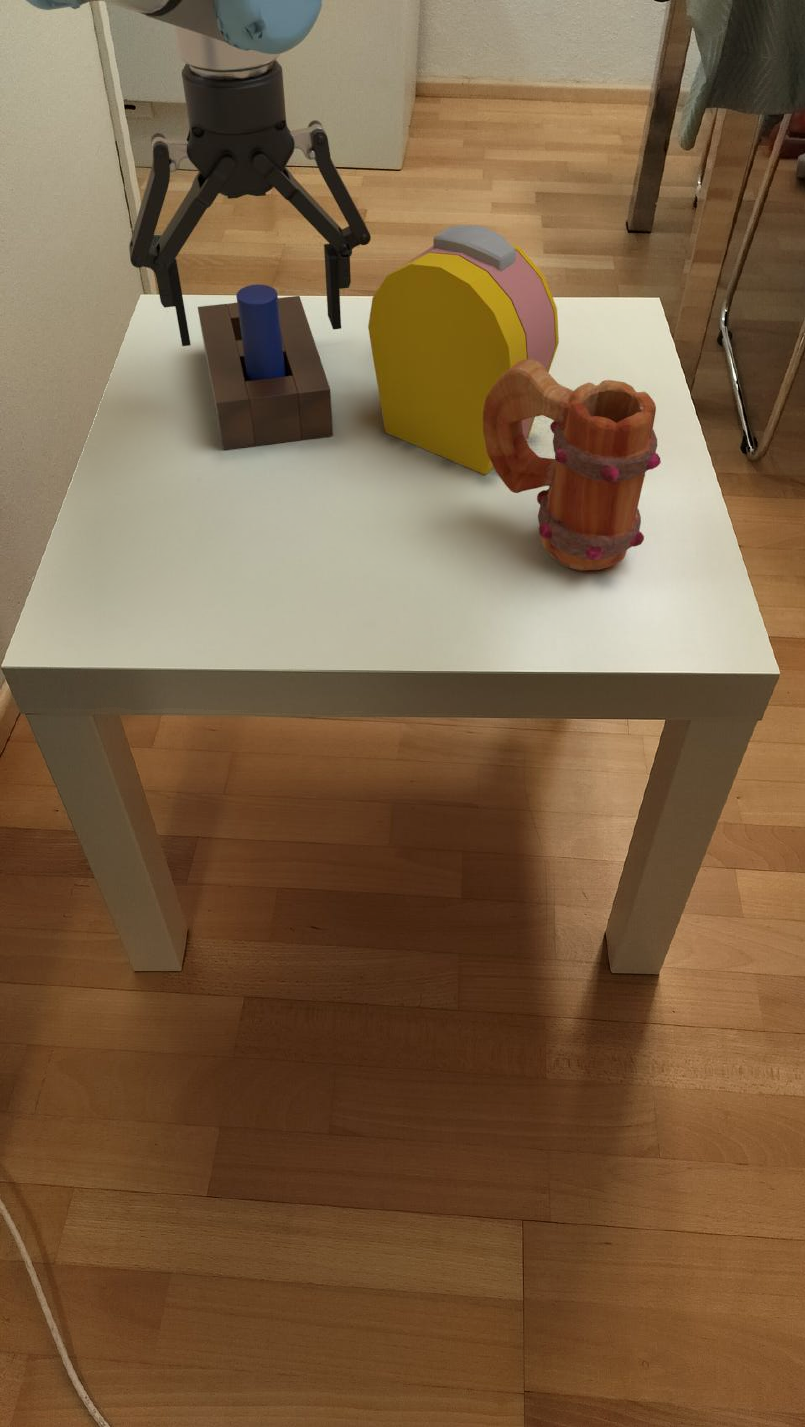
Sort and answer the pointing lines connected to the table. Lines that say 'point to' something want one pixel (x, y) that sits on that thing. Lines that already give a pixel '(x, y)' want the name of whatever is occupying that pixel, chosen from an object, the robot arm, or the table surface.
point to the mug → (575, 460)
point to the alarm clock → (457, 338)
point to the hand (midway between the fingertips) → (260, 330)
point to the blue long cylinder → (261, 332)
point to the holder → (266, 381)
